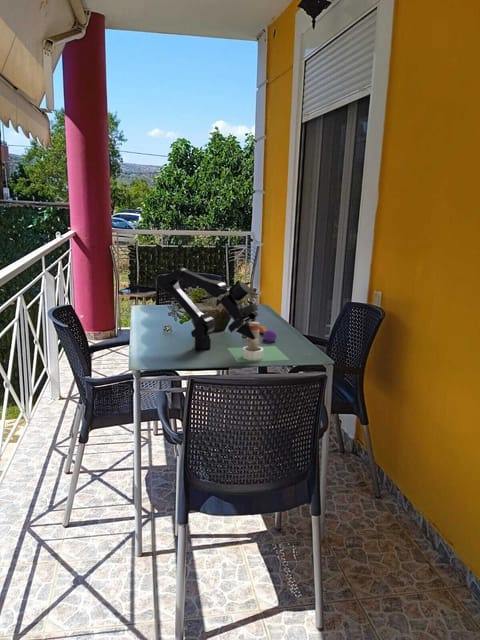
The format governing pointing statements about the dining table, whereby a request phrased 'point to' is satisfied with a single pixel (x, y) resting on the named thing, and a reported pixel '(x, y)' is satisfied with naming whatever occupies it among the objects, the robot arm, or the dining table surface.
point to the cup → (252, 353)
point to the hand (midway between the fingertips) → (256, 337)
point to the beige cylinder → (255, 330)
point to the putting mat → (269, 354)
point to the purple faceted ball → (268, 334)
